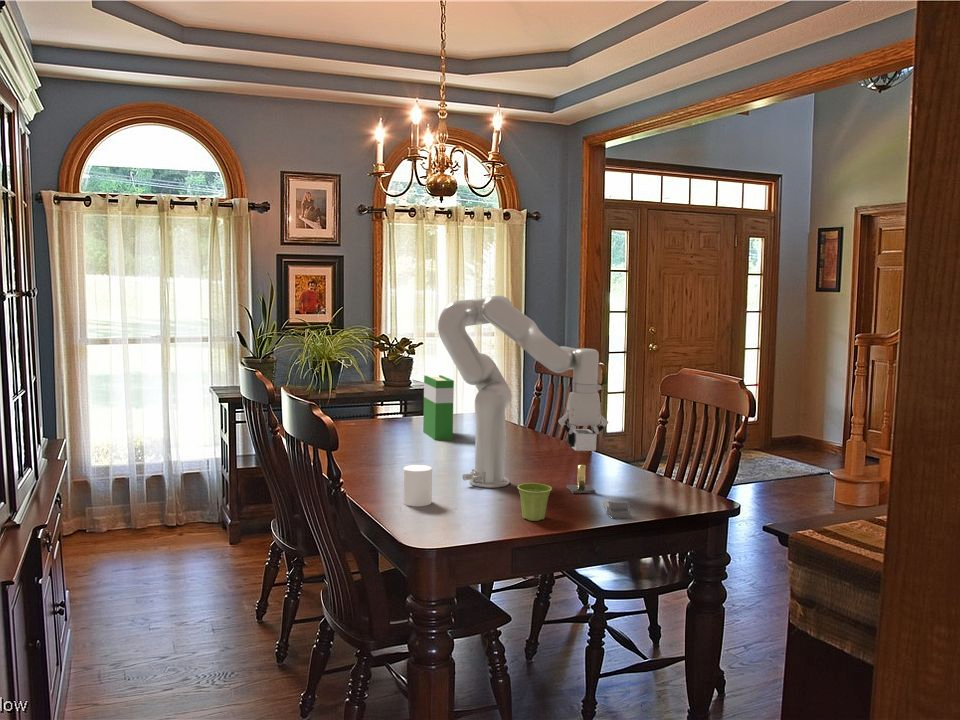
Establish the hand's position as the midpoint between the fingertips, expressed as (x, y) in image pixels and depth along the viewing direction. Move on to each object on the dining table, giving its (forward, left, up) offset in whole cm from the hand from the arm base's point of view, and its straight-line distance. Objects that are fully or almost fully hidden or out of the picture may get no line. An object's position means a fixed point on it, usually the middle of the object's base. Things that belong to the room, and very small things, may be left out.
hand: (582, 445), depth 253 cm
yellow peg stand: (0, 0, -14) cm, 14 cm away
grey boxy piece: (-11, -25, -14) cm, 31 cm away
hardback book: (+14, +95, -15) cm, 97 cm away
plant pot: (-32, -13, -15) cm, 37 cm away
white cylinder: (-49, +19, -15) cm, 54 cm away
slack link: (-7, -19, -14) cm, 25 cm away
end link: (0, 0, -1) cm, 1 cm away
